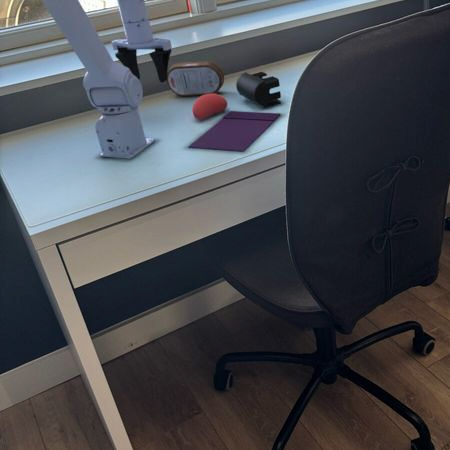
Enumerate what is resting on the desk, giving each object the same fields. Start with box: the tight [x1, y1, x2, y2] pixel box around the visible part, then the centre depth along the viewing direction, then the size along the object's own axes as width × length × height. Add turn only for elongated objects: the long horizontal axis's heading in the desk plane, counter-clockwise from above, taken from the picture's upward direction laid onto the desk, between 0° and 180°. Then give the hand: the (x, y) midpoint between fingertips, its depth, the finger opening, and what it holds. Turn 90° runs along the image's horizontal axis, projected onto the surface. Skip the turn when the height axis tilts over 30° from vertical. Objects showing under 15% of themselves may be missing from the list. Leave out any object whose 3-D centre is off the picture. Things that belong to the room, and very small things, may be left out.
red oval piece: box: [191, 93, 228, 121], centre depth 134 cm, size 5×9×6 cm, turn 126°
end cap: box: [235, 71, 282, 109], centre depth 137 cm, size 10×7×7 cm
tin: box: [165, 60, 225, 97], centre depth 147 cm, size 15×3×8 cm, turn 84°
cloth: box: [188, 110, 282, 153], centre depth 125 cm, size 20×13×1 cm, turn 159°
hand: (150, 80), depth 131 cm, fingers open, 7 cm apart
